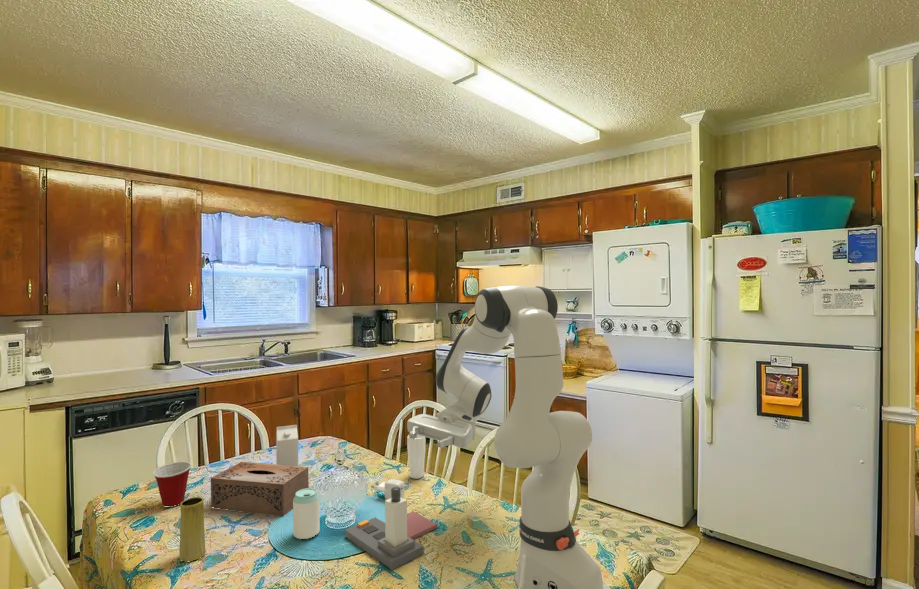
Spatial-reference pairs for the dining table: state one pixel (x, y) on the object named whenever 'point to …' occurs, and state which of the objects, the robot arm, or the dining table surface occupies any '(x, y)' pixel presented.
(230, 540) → the dining table surface
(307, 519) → the can
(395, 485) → the power adapter
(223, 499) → the tissue box cover
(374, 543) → the power strip
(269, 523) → the dining table surface
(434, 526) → the rubber mat
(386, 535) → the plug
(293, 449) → the milk carton
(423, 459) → the drinking glass
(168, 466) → the plastic cup
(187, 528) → the vase
